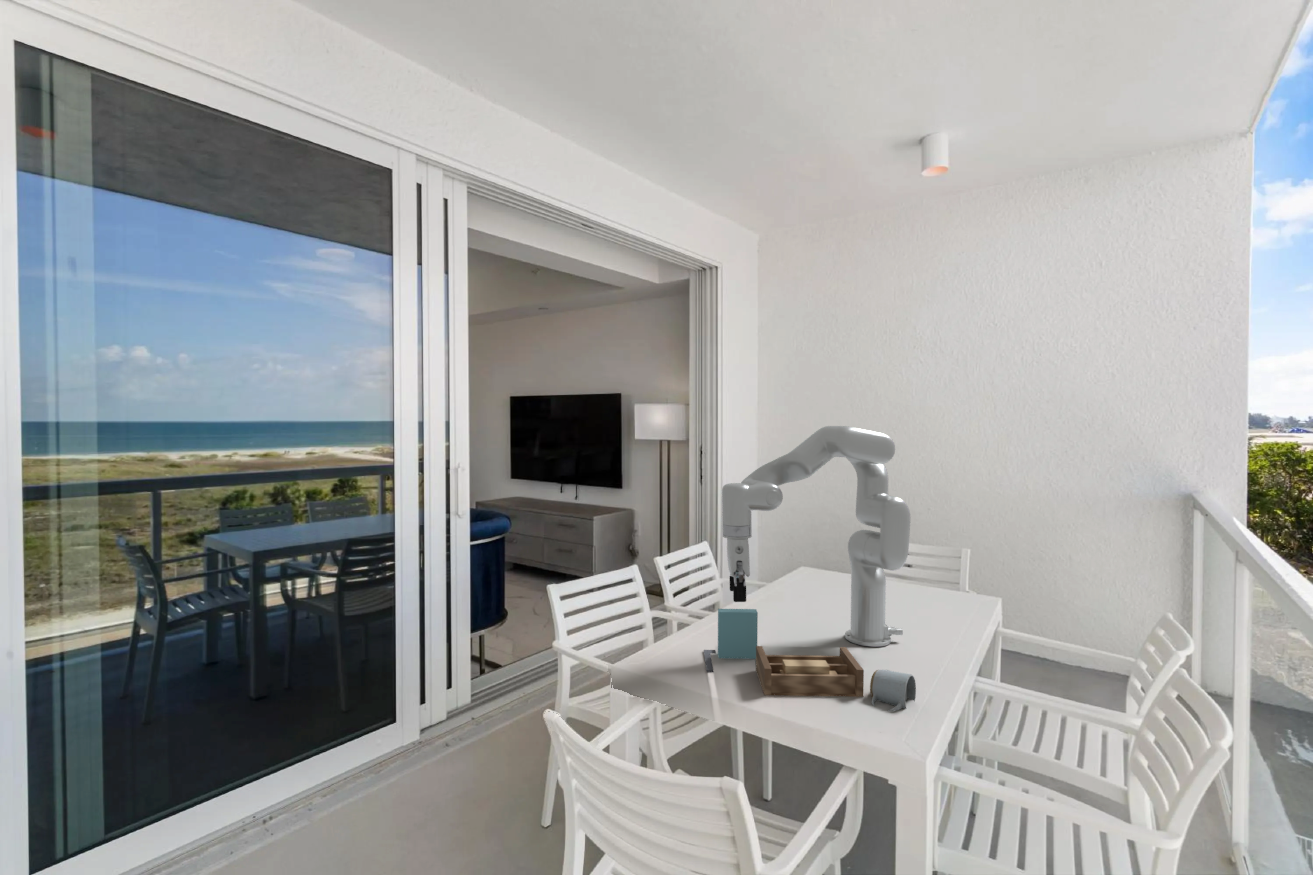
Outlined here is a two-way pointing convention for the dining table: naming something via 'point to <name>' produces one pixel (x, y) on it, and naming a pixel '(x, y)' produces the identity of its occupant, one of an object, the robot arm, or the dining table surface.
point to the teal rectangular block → (737, 633)
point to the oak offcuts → (806, 667)
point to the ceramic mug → (892, 688)
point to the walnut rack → (810, 676)
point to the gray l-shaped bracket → (709, 660)
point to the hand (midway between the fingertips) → (737, 595)
